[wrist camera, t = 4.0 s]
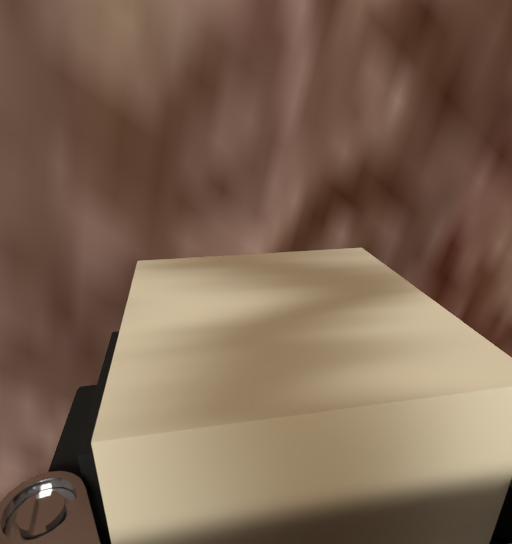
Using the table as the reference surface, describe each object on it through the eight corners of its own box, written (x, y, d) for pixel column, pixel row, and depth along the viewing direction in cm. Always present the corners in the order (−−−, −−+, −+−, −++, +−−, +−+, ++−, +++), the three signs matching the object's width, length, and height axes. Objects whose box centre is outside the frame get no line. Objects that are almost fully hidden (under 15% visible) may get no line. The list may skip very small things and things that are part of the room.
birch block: (360, 247, 11) (544, 381, 6) (342, 416, 13) (459, 631, 8) (138, 260, 10) (91, 442, 4) (159, 441, 12) (144, 709, 7)
